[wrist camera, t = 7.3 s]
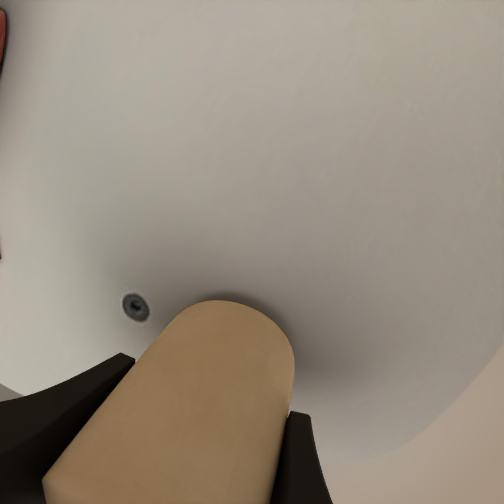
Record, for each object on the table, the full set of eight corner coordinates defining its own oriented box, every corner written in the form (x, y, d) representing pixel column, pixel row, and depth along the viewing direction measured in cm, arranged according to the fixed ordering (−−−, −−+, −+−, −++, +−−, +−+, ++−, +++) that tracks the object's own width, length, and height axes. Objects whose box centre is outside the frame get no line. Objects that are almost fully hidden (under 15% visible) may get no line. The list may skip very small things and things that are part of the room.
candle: (146, 342, 13) (7, 509, 4) (224, 269, 11) (23, 533, 2) (232, 416, 13) (159, 597, 4) (324, 366, 11) (290, 627, 2)
